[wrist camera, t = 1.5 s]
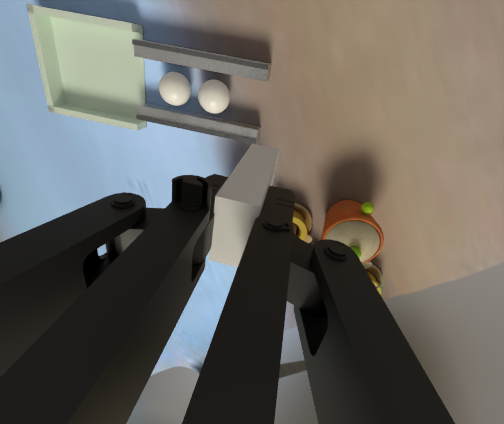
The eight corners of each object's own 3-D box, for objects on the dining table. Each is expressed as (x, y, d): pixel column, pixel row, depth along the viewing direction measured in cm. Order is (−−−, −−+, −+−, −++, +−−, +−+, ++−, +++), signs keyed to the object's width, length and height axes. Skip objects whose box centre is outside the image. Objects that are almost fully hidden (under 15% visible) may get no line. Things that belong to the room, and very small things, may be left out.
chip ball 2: (203, 107, 36) (192, 112, 33) (205, 75, 34) (194, 77, 31) (231, 113, 36) (223, 118, 32) (234, 81, 34) (226, 84, 30)
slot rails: (146, 116, 38) (136, 119, 36) (143, 39, 33) (132, 38, 31) (258, 139, 37) (255, 144, 34) (271, 63, 32) (268, 63, 30)
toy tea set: (257, 202, 41) (245, 237, 33) (364, 173, 36) (381, 206, 28) (305, 320, 52) (304, 369, 43) (393, 310, 47) (412, 364, 38)
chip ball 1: (167, 100, 36) (153, 104, 33) (167, 68, 34) (152, 69, 31) (194, 105, 36) (183, 110, 33) (196, 74, 34) (184, 75, 31)
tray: (62, 108, 40) (49, 111, 38) (43, 7, 34) (26, 3, 32) (146, 126, 39) (137, 130, 37) (142, 25, 33) (131, 23, 30)
